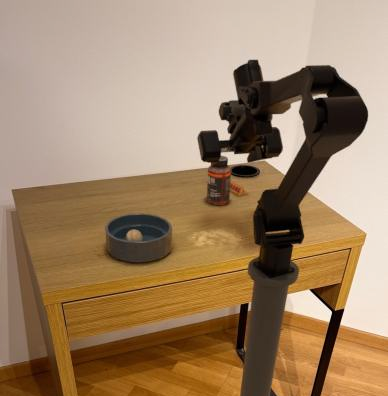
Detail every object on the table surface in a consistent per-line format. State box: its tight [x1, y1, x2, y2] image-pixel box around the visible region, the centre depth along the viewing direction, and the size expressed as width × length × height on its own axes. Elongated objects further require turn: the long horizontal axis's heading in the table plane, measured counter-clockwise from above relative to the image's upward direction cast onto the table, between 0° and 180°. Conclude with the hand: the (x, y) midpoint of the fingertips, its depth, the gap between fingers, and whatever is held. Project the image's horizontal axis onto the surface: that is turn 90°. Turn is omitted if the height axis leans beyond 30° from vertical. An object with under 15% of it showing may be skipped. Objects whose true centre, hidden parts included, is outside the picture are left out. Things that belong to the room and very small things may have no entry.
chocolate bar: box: [230, 180, 247, 197], centre depth 137 cm, size 3×12×2 cm, turn 32°
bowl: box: [104, 212, 173, 263], centre depth 107 cm, size 14×14×5 cm
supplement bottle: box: [206, 155, 232, 206], centre depth 126 cm, size 6×6×11 cm
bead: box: [126, 230, 143, 242], centre depth 107 cm, size 4×4×4 cm
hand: (229, 162), depth 117 cm, fingers open, 9 cm apart
